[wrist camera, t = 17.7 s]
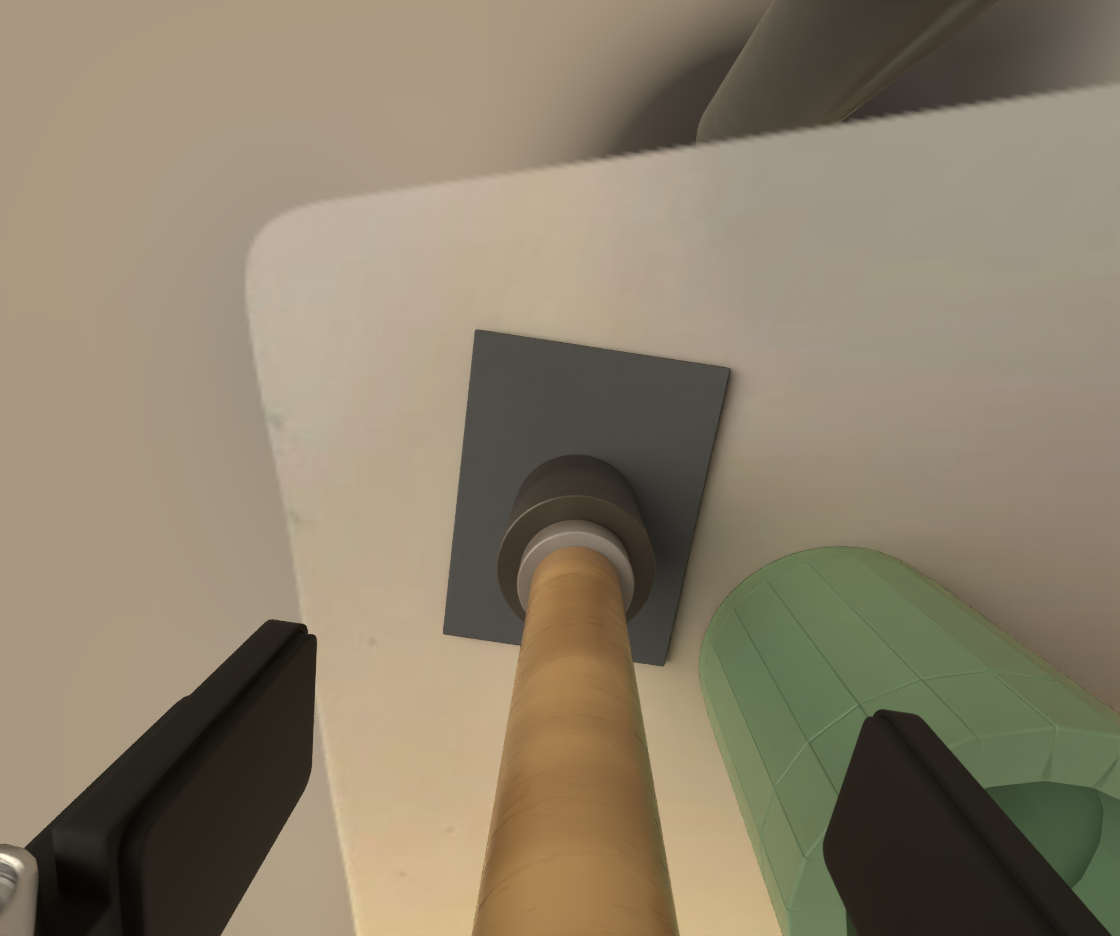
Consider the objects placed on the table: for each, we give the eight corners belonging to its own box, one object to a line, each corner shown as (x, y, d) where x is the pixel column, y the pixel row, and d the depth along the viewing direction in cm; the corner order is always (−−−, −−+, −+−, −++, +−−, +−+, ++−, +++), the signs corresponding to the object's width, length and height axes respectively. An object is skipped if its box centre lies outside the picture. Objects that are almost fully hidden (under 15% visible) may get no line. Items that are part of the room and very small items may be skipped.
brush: (522, 445, 20) (356, 835, 5) (647, 464, 20) (871, 907, 5) (507, 560, 22) (332, 1171, 6) (625, 578, 22) (751, 1226, 6)
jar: (729, 527, 21) (857, 697, 12) (991, 567, 22) (1331, 767, 12) (676, 749, 24) (744, 1037, 14) (910, 782, 24) (1135, 1092, 14)
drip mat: (476, 329, 20) (474, 329, 19) (727, 367, 20) (730, 368, 19) (444, 629, 23) (442, 634, 22) (662, 661, 23) (664, 667, 23)
